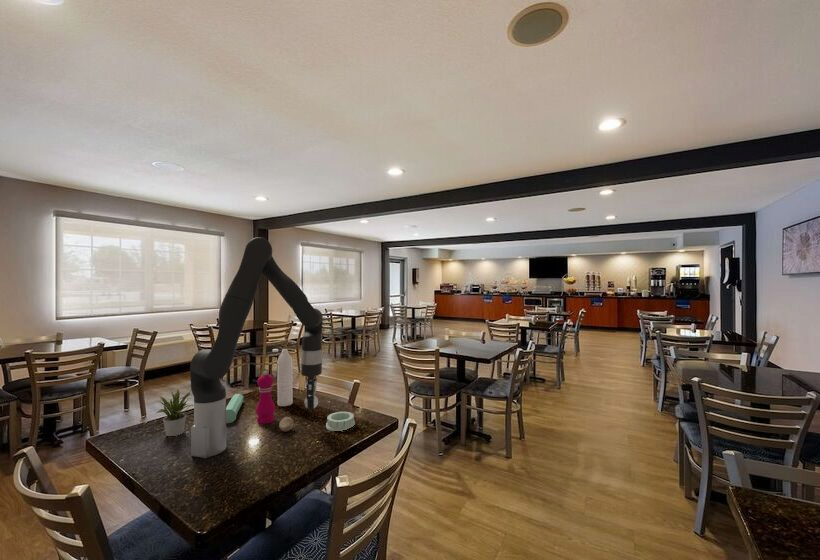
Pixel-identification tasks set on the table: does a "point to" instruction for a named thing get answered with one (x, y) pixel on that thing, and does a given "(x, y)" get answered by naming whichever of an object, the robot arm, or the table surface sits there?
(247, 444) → the table surface
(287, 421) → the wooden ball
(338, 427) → the ring cup
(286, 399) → the water bottle
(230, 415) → the mint green faceted rod
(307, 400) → the steel ball
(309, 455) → the table surface
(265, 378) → the pepper mill
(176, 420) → the house plant
